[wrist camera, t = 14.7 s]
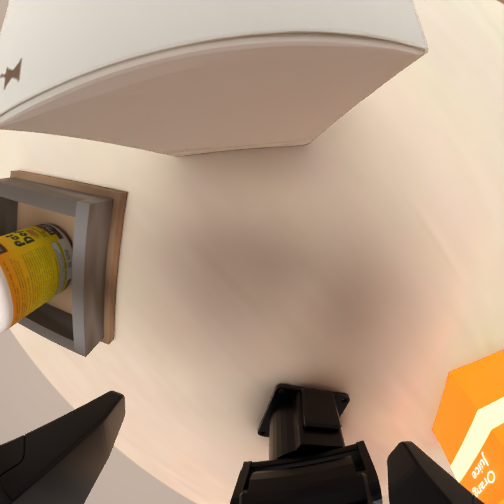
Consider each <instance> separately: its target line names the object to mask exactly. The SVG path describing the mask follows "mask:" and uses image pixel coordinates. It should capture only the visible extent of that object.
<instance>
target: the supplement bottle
mask: <svg viewBox="0 0 504 504" xmlns="http://www.w3.org/2000/svg"><path fill="white" fill-rule="evenodd" d="M72 255H73V250H72V247H71V244H70V242H69V240H68V239H67V237H66V236H65V234H64V233H63V232H62V231H61V230H60V229H58V228H57V227H55V226H53V225H51V224H39V225H35V226H32V227H28V228H25V229H22V230H19V231H15V232H12V233H9V234H6V235H3V236H0V333H1V332H4V331H6V330H7V329H9V328H10V327H11V326H13V325H14V324H16V323H17V322H18V321H20V320H21V319H23V318H24V317H25V316H27V315H28V314H30V313H31V312H33V311H34V310H36V309H37V308H38V307H40V306H41V305H43V304H44V303H46V302H47V301H49V300H50V299H52V298H53V297H55V296H56V295H58V294H59V293H61V292H62V291H64V290H65V289H66V288H67V287H68V286H69V285H70V284H71V282H72Z"/></svg>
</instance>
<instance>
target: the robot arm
mask: <svg viewBox="0 0 504 504" xmlns="http://www.w3.org/2000/svg"><path fill="white" fill-rule="evenodd" d="M279 390H283V391H279ZM342 399H344V400H342ZM349 400H350V399H349V395H348V394H345V393H337V392H329V391H321V390H315V389H308V388H302V387H296V386H290V385H284V384H280V385H277V386H276V387H275V390H274V392H273V395H272V397H271V400H270V402H269V404H268V407H267V409H266V411H265V414H264V416H263V419H262V421H261V423H260V425H259V428H258V435H260V436H265V437H269V461H260V462H252V461H249V462H244V464H243V467H242V470H241V471H240V474H239V477H238V480H237V483H236V486H235V489H234V492H233V495H232V498H231V501H230V504H382V494H381V488H380V484H379V480H378V476H377V473H376V470H375V468H374V465H373V463H372V460H371V458H370V455H369V453H368V450H367V448H366V446H365V443H364V441H360V442H356V444H353V445H349V446H345V443H344V439H343V435H342V430H341V427H342V426H341V422H340V416H341V414H342V413H343V411H344V409H345V408H346V406H347V404H348V403H349ZM124 416H125V397H124V395H123V394H121V393H118V392H115V391H109V392H107V393H106V394H104V395H102V396H100V397H98V398H96V399H94V400H92V401H91V402H89V403H87V404H85V405H83V406H81V407H79V408H77V409H75V410H73V411H71V412H69V413H68V414H66V415H64V416H62V417H60V418H58V419H56V420H54V421H52V422H50V423H48V424H46V425H44V426H42V427H40V428H37V429H35V430H33V431H31V432H29V433H27V434H25V436H24V435H23V436H21V437H18V438H16V439H14V440H11V441H9V442H7V443H4V444H2V445H0V504H84V503H85V500H86V499H87V497H88V495H89V493H90V491H91V489H92V487H93V485H94V484H95V482H96V480H97V478H98V476H99V474H100V472H101V470H102V469H103V467H104V465H105V463H106V461H107V460H108V458H109V456H110V453H111V451H112V448H113V445H114V443H115V440H116V437H117V435H118V432H119V430H120V427H121V425H122V422H123V419H124ZM387 466H388V491H389V502H390V504H485V503H484V502H482V501H481V500H480V499H478V498H477V497H476V496H475V495H474V494H472V493H471V492H470V491H469V490H468V489H466V488H465V487H464V486H463V485H462V484H460V483H459V482H458V481H457V480H455V479H454V478H453V477H452V476H451V475H450V474H448V473H447V472H446V471H445V470H444V469H443V468H441V467H440V466H439V465H438V464H437V463H436V462H434V461H433V460H432V459H431V458H430V457H429V456H428V455H426V454H425V453H424V452H423V451H422V450H421V449H420V448H418V447H417V446H416V445H415V444H414V443H413V442H411V441H404V442H400V443H399V444H398V445H397V446H396V448H395V449H394V450H393V451H392V452H391V454H390V455H389V456H388V460H387Z"/></svg>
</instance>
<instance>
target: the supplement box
mask: <svg viewBox="0 0 504 504" xmlns="http://www.w3.org/2000/svg"><path fill="white" fill-rule="evenodd" d="M427 52H428V46H427V43H426V39H425V36H424V33H423V30H422V27H421V24H420V21H419V18H418V15H417V12H416V9H415V6H414V3H413V0H9V3H8V10H7V13H6V16H5V19H4V22H3V26H2V30H1V33H0V129H4V130H16V131H27V132H37V133H45V134H54V135H62V136H69V137H76V138H82V139H88V140H95V141H100V142H106V143H112V144H117V145H122V146H128V147H133V148H138V149H143V150H148V151H153V152H157V153H162V154H167V155H171V156H185V155H192V154H200V153H208V152H217V151H227V150H238V149H250V148H264V147H281V146H297V145H306V144H309V143H310V142H311V141H313V140H314V139H315V138H316V137H317V136H318V135H320V134H321V133H322V132H323V131H324V130H326V129H327V128H328V127H329V126H330V125H332V124H333V123H334V122H335V121H337V120H338V119H339V118H340V117H342V116H343V115H344V114H345V113H347V112H348V111H349V110H350V109H352V108H353V107H354V106H355V105H357V104H358V103H359V102H360V101H362V100H363V99H365V98H366V97H367V96H369V95H370V94H371V93H373V92H374V91H375V90H376V89H378V88H379V87H380V86H382V85H383V84H384V83H386V82H387V81H388V80H390V79H391V78H392V77H394V76H395V75H396V74H398V73H399V72H400V71H402V70H403V69H405V68H406V67H407V66H409V65H410V64H412V63H413V62H415V61H416V60H417V59H419V58H420V57H421V56H423V55H424V54H426V53H427Z"/></svg>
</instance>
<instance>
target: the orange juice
mask: <svg viewBox="0 0 504 504" xmlns="http://www.w3.org/2000/svg"><path fill="white" fill-rule="evenodd" d="M432 430H433V432H434V434H435V436H436V438H437V440H438V441H439V443H440V445H441V447H442V449H443V451H444V453H445V455H446V457H447V459H448V461H449V463H450V465H451V466H450V467H451V469H452V471H453V473H454V475H455V477H456V479H457V481H458V482H459V483H460V484H462V485H463V486H464V487H465V488H466V489H468V490H469V491H470V492H471V493H472V494H474V495H475V496H476V497H477V498H478V499H480V500H481V501H482V502H484V503H485V504H504V352H503V351H502V350H501V351H499V352H497V353H495V354H492V355H490V356H488V357H485V358H483V359H481V360H478V361H476V362H473V363H471V364H468V365H466V366H463V367H460V368H458V369H455V370H452V371H449V374H448V378H447V382H446V386H445V389H444V393H443V396H442V400H441V403H440V406H439V410H438V413H437V416H436V419H435V422H434V425H433V428H432Z"/></svg>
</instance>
